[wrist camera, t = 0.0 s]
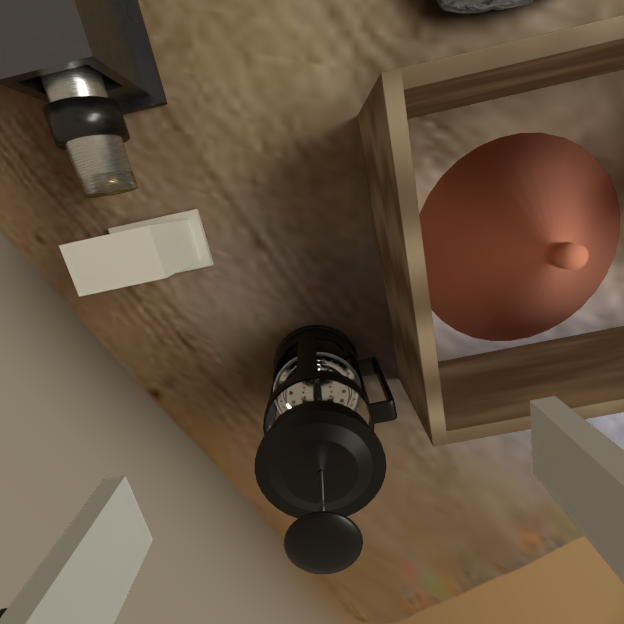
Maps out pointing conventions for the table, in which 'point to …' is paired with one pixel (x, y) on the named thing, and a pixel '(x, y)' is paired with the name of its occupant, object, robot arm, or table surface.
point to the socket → (138, 253)
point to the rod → (89, 130)
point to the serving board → (479, 5)
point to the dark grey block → (79, 47)
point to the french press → (322, 448)
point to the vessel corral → (410, 254)
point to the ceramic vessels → (518, 236)
